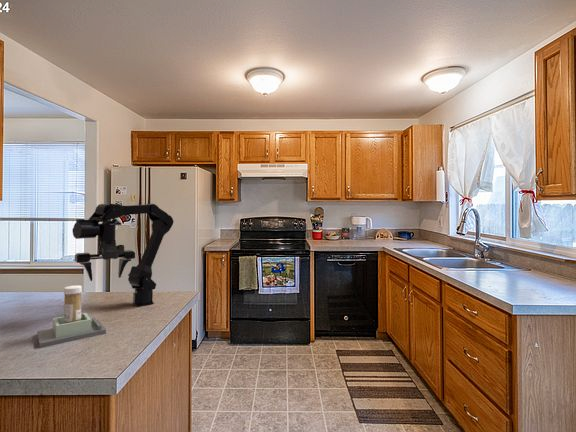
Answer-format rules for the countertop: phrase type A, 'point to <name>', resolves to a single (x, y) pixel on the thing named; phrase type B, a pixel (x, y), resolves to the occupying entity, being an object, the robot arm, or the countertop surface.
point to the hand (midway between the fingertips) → (105, 279)
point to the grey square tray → (70, 331)
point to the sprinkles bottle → (72, 304)
